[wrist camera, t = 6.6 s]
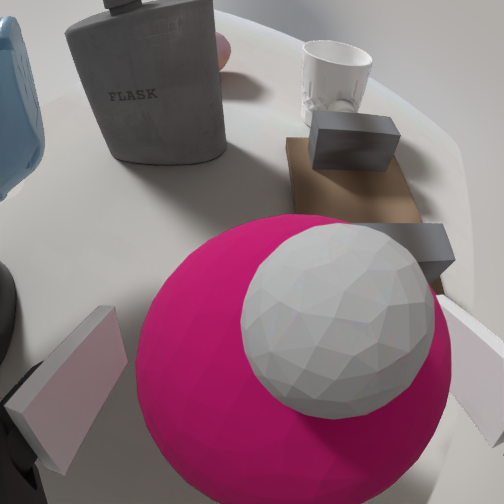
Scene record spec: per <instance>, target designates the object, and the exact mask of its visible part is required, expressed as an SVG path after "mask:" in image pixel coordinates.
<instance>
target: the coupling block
mask: <svg viewBox="0 0 504 504" xmlns="http://www.w3.org/2000/svg"><path fill="white" fill-rule="evenodd" d="M400 136H401V135H400V133H399V131H398V130H397V128H396V126H395V124H394V123H393V121H392V119H391V118H390V117H386V116H378V115H370V114H360V113H357V111H356V109H355V107H354V105H353V103H352V102H351V101H349V100H347V99H338V100H335V101H333V102H332V103H331V104H330V106H329V108H328V111H320V110H313V113H312V121H311V128H310V135H309V138H286V153H287V160H288V167H289V174H290V181H291V188H292V195H293V203H294V210H295V214H299V215H319V216H323V217H328V218H332V219H337V220H341V221H346V222H348V223H351V224H353V225H359V226H366V227H369V228H372V229H374V230H377V231H380V232H382V233H385V234H386V235H388V236H389V237H391V238H392V239H393V240H395V241H396V242H398V243H399V244H400V245H402V246H403V247H404V248H406V249H407V250H408V251H409V252H410V253H411V255H412V256H413V257H414V258H415V260H416V261H417V263H418V265H419V266H420V268H421V270H422V272H423V274H424V276H425V278H426V281H427V282H428V284H429V285H430V287H431V288H432V290H433V291H434V292H435V294H436V295H444V291H443V287H442V283H441V279H440V275H441V274H442V273H443V272H444V271H445V270H446V269H447V268H448V267H449V266H450V265H451V264H452V263H453V262H454V261H455V257H454V254H453V251H452V248H451V245H450V242H449V239H448V237H447V234H446V231H445V229H444V226H443V224H432V223H422V220H421V218H420V215H419V212H418V210H417V207H416V205H415V202H414V199H413V197H412V195H411V192H410V190H409V187H408V185H407V183H406V180H405V178H404V176H403V174H402V171H401V169H400V167H399V165H398V163H397V160H396V158H395V156H394V152H395V149H396V147H397V144H398V142H399V139H400ZM444 296H445V295H444Z"/></svg>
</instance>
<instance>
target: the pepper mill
mask: <svg viewBox="0 0 504 504" xmlns="http://www.w3.org/2000/svg"><path fill="white" fill-rule="evenodd" d="M451 378H452V360H451V341H450V335H449V330H448V326H447V321H446V319H445V316H444V314H443V311H442V309H441V306H440V304H439V302H438V299H437V297H436V294H435V292H434V291H433V290H432V288H431V287H430V285H429V284H428V282H427V281H426V278H425V276H424V274H423V272H422V270H421V268H420V266H419V265H418V263H417V261H416V260H415V258H414V257H413V256H412V255H411V253H410V252H409V251H408V250H407V249H406V248H404V247H403V246H402V245H400V244H399V243H398V242H396V241H395V240H393V239H392V238H391V237H389V236H388V235H386V234H385V233H382V232H380V231H377V230H374V229H372V228H369V227H366V226H359V225H353V224H351V223H348V222H346V221H341V220H337V219H332V218H328V217H323V216H319V215H299V214H284V215H279V216H273V217H268V218H263V219H258V220H254V221H251V222H248V223H245V224H242V225H240V226H237V227H234V228H232V229H230V230H228V231H226V232H224V233H222V234H220V235H218V236H216V237H214V238H212V239H210V240H208V241H207V242H206V243H205V244H203V245H202V246H201V247H199V248H198V249H197V250H195V251H194V252H193V253H191V254H190V255H189V256H188V257H187V258H186V259H185V260H184V261H183V262H182V263H181V265H180V266H179V267H178V268H177V269H176V270H175V271H174V272H173V273H172V275H171V276H170V277H169V278H168V279H167V280H166V282H165V283H164V285H163V286H162V288H161V289H160V291H159V292H158V294H157V296H156V297H155V299H154V300H153V302H152V304H151V307H150V309H149V312H148V314H147V317H146V319H145V322H144V324H143V327H142V330H141V335H140V341H139V346H138V351H137V357H136V379H137V392H138V399H139V403H140V406H141V410H142V413H143V416H144V419H145V423H146V426H147V428H148V430H149V432H150V434H151V436H152V438H153V439H154V441H155V443H156V444H157V446H158V448H159V449H160V451H161V453H162V454H163V456H164V457H165V458H166V460H167V461H168V462H169V463H170V464H171V466H172V467H173V468H174V469H175V470H176V471H177V472H178V473H179V474H180V476H181V477H182V478H183V479H184V480H185V481H186V482H187V483H188V484H190V485H191V486H193V487H194V488H196V489H197V490H199V491H200V492H202V493H203V494H205V495H206V496H208V497H209V498H211V499H212V500H214V501H216V502H218V503H221V504H361V503H363V502H365V501H367V500H369V499H371V498H373V497H375V496H377V495H379V494H380V493H382V492H383V491H384V490H386V489H387V488H389V487H390V486H391V485H393V484H394V483H395V482H396V481H397V480H398V479H399V478H400V477H401V476H402V475H403V474H404V473H405V472H406V471H407V470H408V469H409V468H410V467H411V466H412V465H413V464H414V463H415V462H416V461H417V460H418V459H419V457H420V456H421V454H422V452H423V451H424V449H425V448H426V446H427V445H428V443H429V441H430V440H431V438H432V436H433V435H434V433H435V430H436V428H437V426H438V424H439V421H440V419H441V416H442V414H443V411H444V409H445V406H446V403H447V398H448V393H449V389H450V384H451Z"/></svg>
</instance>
